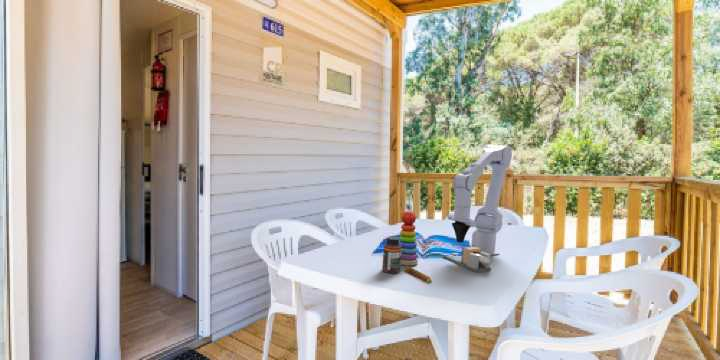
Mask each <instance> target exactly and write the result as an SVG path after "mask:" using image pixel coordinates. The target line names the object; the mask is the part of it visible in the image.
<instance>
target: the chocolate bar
mask: <svg viewBox="0 0 720 360" xmlns="http://www.w3.org/2000/svg"><path fill="white" fill-rule="evenodd" d="M404 273H407V274H408V275H409V276H412V277H414V278H417V279H418V280H420V281H422V282H424V283H425V284H429V283H432V282H433V281H432V279H431V276H429V275H427V274H425V273H423V272H420V271H419V270H417V269H416V268H415V269H414V268H413V267H411V266H407V265H406V267H405V269H404Z"/></svg>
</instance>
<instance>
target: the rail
mask: <svg viewBox="0 0 720 360" xmlns="http://www.w3.org/2000/svg"><path fill="white" fill-rule="evenodd" d="M451 254H452V255H453V256H456V255H459V254H460V253H458V252H454V253H453V252H452V253H451ZM479 255H481V256H484V257H486V258H489V259H490V260H492V259H491V258H492V255H491V254H488V253H485V252H479ZM479 255H477V254H474V253H472V252H471V253H467V264H465V263H463V262H462V261H461V258H462V257H452V256H444V257H443V259H446V260H449V261H450V262H452V263H455V264H457V265H459V266H461V267H463V268H465V269H468V270H469V271H472V272H474V273H477V272H479V273H480V272H487V271H488V272H489V271H492V267H491V264H490V265H489V266H486V265H483V264H481V263H479Z"/></svg>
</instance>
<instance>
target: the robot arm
mask: <svg viewBox="0 0 720 360" xmlns="http://www.w3.org/2000/svg"><path fill="white" fill-rule="evenodd" d="M512 155H513V153H512V149H511V147H510V145H489V144H486V145H485V146H484V148H483V149H482V154H481V155H480V156H479V159H478V160H476V162H470V164H469V165H468V166H467V167H466V168H465V170H463V171H462V172H461V173H458V174H455V176H454V178H453V181H452V186H453V190H454V191H453V192H454V194H455V196H454V211H453V212H454V213H453V214H447V220H450V221H452V223H451V226H452V227H453V230H454V234H455V239H456V242H457V243H459V244H460V243H464V241H465V238H466V235H467V233H468V231H469V230H470V228H475V230H474V231H473V233H472V235H471V246H470V247H478V248H480V249H481V252H485V253H488V254H491V256H493V255H494V256H495V255H496V256H497V255H500V254H501V253H500V252H498V251H496V243H497V234H498V233H499V232H501V229H502V227H503V214H502V213H501V211H499V210H498V207H499V202H500V198H501V194H502V189H503V185H504V180H505V176H506V173H507V169H509V168H510V164H511V160H512ZM487 166H488V167H490V168H491V170H492V171H491V175H490V180H489V185H488V189H487V193H486V198H485V203H484V206H482V207H481V208H479V209H478V210H477V212H476V215H475V216H474V218H473V219H472V218H470V217H471V203H472V190H474V189H475V187H476V184H477V182H478V179H479V178H480V177H481V176H482V175H483V174H484V169H485V168H486V167H487ZM453 221H454V222H453Z"/></svg>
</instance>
